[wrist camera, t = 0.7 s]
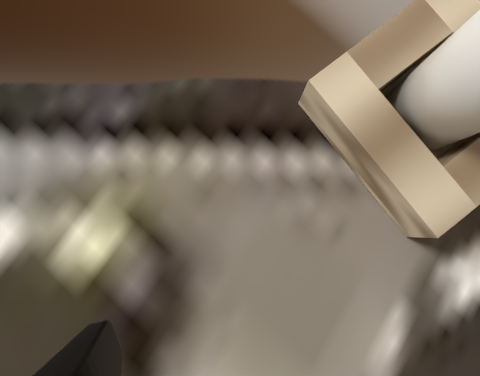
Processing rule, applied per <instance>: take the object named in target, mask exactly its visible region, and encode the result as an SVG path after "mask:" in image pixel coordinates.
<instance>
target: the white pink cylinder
mask: <svg viewBox="0 0 480 376" xmlns="http://www.w3.org/2000/svg"><path fill="white" fill-rule="evenodd" d="M386 99H387V100H388V101H389V103H390V104H391V105H392V106H393V107H394V109H395V110H396V111H397V112H398V113H399V115H400V116H401V117H402V118H403V119H404V121H405V122H406V123H407V124H408V125H409V126H410V128H411V129H412V130H413V131H414V132H415V134H416V135H417V136H418V137H419V138H420V140H421V141H422V142H423V143H424V144H425V146H426V147H427V148H428V149H429V150H430V151H431V152H432V151H435V150H438V149H440V148H443V147H445V146H448V145H450V144H453V143H455V142H458V141H460V140H462V139H465V138H467V137H470V136H472V135H475V134H477V133H480V10H478V11H477V12H476V13H475V14H474V15H473V16H472V17H471V18H470V19H469V20H468V21H467V22H465V23H464V24H463V25H462V26H461V27H460V28H459V29H458V30H457V31H456V32H455V33H453V34H452V35H451V36H450V37H449V38H448V39H447V40H446V41H445V42H444V43H443V44H442V45H440V46H439V47H438V48H437V49H436V50H435V51H434V52H433V53H432V54H431V55H430V56H429V57H427V58H426V59H425V60H424V61H423V62H422V63H421V64H420V65H419V66H418V67H417V68H416V69H414V70H413V71H412V72H411V73H410V74H409V75H408V76H407V77H406V78H405V79H404V80H402V81H401V82H400V83H399V84H398V85H397V86H396V87H395V88H394V89H393V90H392V91H391V92H390V93H389V94H388V96H387V98H386Z"/></svg>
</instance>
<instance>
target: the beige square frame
mask: <svg viewBox="0 0 480 376" xmlns="http://www.w3.org/2000/svg"><path fill="white" fill-rule="evenodd" d="M478 10H480V0H415V1H414V2H412V3H411V4H410V5H408V6H407V7H406V8H404V9H403V10H402V11H400V12H399V13H398V14H396V15H395V16H394V17H393V18H391V19H390V20H388V21H387V22H386V23H384V24H383V25H382V26H381V27H379V28H378V29H376V30H375V31H374V32H372V33H371V34H370V35H368V36H367V37H366V38H364V39H363V40H362V41H360V42H359V43H358V44H357V45H355V46H354V47H352V48H351V49H350V50H349V51H347V52H346V53H345V54H343V55H342V56H341V57H339V58H338V59H337V60H335V61H334V62H333V63H331V64H330V65H329V66H327V67H326V68H325V69H323V70H322V71H321V72H320V73H318V74H317V75H315V76H314V77H313V78H311V79H310V80H309V81H308V83H307V85H306V87H305V89H304V92H303V94H302V96H301V98H300V100H299V103H298V104H299V105H300V106H301V108H302V109H303V110H304V111H305V112H306V114H307V115H308V116H309V117H310V119H311V120H312V121H313V122H314V124H315V125H316V126H317V127H318V129H319V130H320V131H321V132H322V133H323V135H324V136H325V137H326V138H327V140H328V141H329V142H330V143H331V145H332V146H333V147H334V148H335V149H336V151H337V152H338V153H339V154H340V156H341V157H342V158H343V159H344V161H345V162H346V163H347V164H348V166H349V167H350V168H351V169H352V170H353V172H354V173H355V174H356V175H357V177H358V178H359V179H360V180H361V182H362V183H363V184H364V185H365V186H366V188H367V189H368V190H369V191H370V193H371V194H372V195H373V196H374V198H375V199H376V200H377V201H378V202H379V204H380V205H381V206H382V207H383V209H384V210H385V211H386V212H387V214H388V215H389V216H390V217H391V219H392V220H393V221H394V222H395V223H396V225H397V226H398V227H399V228H400V230H401V231H402V232H403V233H404V235H405V236H406V237H420V238H439V237H440V236H441V235H443V234H444V233H445V232H446V231H448V230H449V229H450V228H451V227H453V226H454V225H455V224H456V223H458V222H459V221H460V220H461V219H462V218H464V217H465V216H466V215H467V214H469V213H470V212H471V211H472V210H474V209H475V208H476V207H477V206H478V205H480V133H477V134H475V135H472V136H470V137H467V138H465V139H462V140H460V141H458V142H455V143H453V144H450V145H448V146H445V147H443V148H440V149H438V150H435V151H432V152H431V151H430V150H429V149H428V148H427V147H426V146H425V144H424V143H423V142H422V141H421V140H420V138H419V137H418V136H417V135H416V134H415V132H414V131H413V130H412V129H411V128H410V126H409V125H408V124H407V123H406V122H405V121H404V119H403V118H402V117H401V116H400V115H399V113H398V112H397V111H396V110H395V109H394V107H393V106H392V105H391V104H390V103H389V101H388V100H387V99H386V98H387V96H388V94H389V93H390V92H391V91H392V90H393V89H394V88H395V87H396V86H397V85H398V84H399V83H400V82H401V81H402V80H404V79H405V78H406V77H407V76H408V75H409V74H410V73H411V72H412V71H413V70H414V69H416V68H417V67H418V66H419V65H420V64H421V63H422V62H423V61H424V60H425V59H426V58H427V57H429V56H430V55H431V54H432V53H433V52H434V51H435V50H436V49H437V48H438V47H439V46H440V45H442V44H443V43H444V42H445V41H446V40H447V39H448V38H449V37H450V36H451V35H452V34H453V33H455V32H456V31H457V30H458V29H459V28H460V27H461V26H462V25H463V24H464V23H465V22H467V21H468V20H469V19H470V18H471V17H472V16H473V15H474V14H475V13H476V12H477V11H478Z"/></svg>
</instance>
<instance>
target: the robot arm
mask: <svg viewBox="0 0 480 376" xmlns="http://www.w3.org/2000/svg"><path fill="white" fill-rule="evenodd" d="M122 365H123V353H122V348H121V346H120V343H119V340H118V338H117V335H116V333H115V330H114V328H113V325H112V323H111V322H110V321H109V320H102V321H97V322H93V323H90V324H88V325H87V326H86V327H85V328H84V329H83V330H82V331H81V332H80V333H78V334H77V335H76V336H75V337H74V338H73V339H72V340H71V341H70V342H69V343H67V344H66V345H65V346H64V347H63V348H62V349H61V350H60V351H59V352H57V353H56V354H55V355H54V356H53V357H52V358H51V359H50V360H49V361H47V362H46V363H45V364H44V365H43V366H42V367H41V368H40V369H39V370H38V371H36V372H35V373H34V374H33V375H32V376H122Z"/></svg>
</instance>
